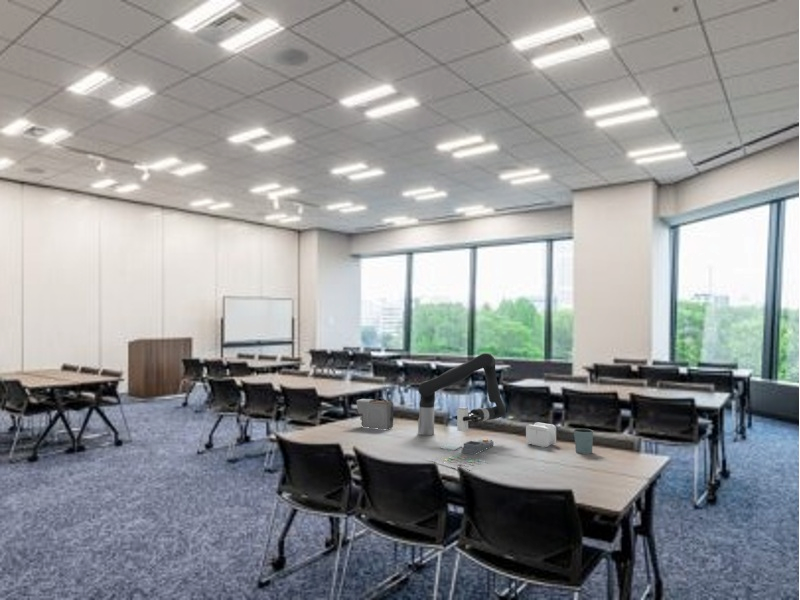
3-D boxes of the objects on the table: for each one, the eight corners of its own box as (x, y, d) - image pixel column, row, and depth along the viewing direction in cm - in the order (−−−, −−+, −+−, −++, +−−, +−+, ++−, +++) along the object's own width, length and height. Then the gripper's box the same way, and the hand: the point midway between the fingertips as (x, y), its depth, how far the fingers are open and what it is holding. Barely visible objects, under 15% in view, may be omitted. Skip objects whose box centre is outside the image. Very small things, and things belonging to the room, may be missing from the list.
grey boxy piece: (363, 424, 373) (363, 380, 374) (394, 427, 364) (395, 382, 365) (354, 427, 362) (355, 382, 363) (387, 430, 353) (387, 384, 354)
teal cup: (593, 455, 291) (592, 432, 292) (573, 453, 295) (573, 431, 295) (593, 450, 301) (593, 429, 301) (574, 449, 304) (574, 427, 305)
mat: (440, 448, 306) (440, 447, 306) (447, 445, 313) (447, 444, 313) (454, 450, 301) (454, 449, 301) (461, 447, 308) (461, 446, 308)
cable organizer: (557, 445, 313) (557, 425, 314) (547, 448, 306) (547, 427, 306) (535, 441, 324) (535, 421, 325) (525, 444, 317) (525, 424, 317)
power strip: (462, 452, 296) (462, 444, 297) (485, 442, 322) (485, 434, 322) (475, 454, 292) (475, 446, 292) (497, 443, 317) (497, 436, 317)
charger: (457, 430, 303) (457, 407, 303) (461, 429, 306) (461, 406, 307) (464, 431, 300) (464, 408, 300) (468, 430, 304) (468, 407, 304)
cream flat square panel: (423, 460, 282) (423, 457, 282) (464, 452, 300) (464, 449, 300) (464, 473, 258) (464, 469, 258) (506, 464, 276) (506, 461, 276)
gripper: (470, 406, 318) (450, 409, 307) (489, 410, 307) (469, 413, 296) (470, 419, 318) (450, 423, 307) (489, 423, 307) (469, 427, 296)
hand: (459, 418), depth 301 cm, fingers closed on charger, 5 cm apart
